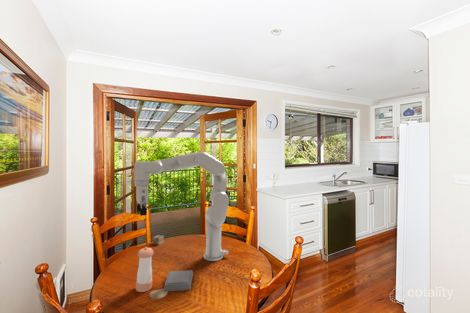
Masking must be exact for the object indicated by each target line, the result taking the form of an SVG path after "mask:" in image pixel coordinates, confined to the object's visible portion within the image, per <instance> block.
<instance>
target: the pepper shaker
mask: <svg viewBox="0 0 470 313" xmlns="http://www.w3.org/2000/svg"><path fill="white" fill-rule="evenodd" d="M154 252H155V251H154V250H153V248H151V247H147V246H145V247H144V248H141V249H140V250H138V253H137V257H138V259H139V261H138V269H137V272H136V281H135V291H136V292H138V293H145V292H148V291H150V290H151V289H152V288H153V268H152V257H153V255H154Z"/></svg>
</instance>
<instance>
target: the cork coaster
mask: <svg viewBox="0 0 470 313" xmlns="http://www.w3.org/2000/svg"><path fill="white" fill-rule="evenodd" d="M168 293H169V291H164V287H163V288H160V289H155V290H151V291H150V292H149V297H150V298H151V299H153V300H158V299H163V298H164V297H166V296H167V295H168Z"/></svg>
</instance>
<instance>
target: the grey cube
mask: <svg viewBox="0 0 470 313" xmlns="http://www.w3.org/2000/svg"><path fill="white" fill-rule="evenodd" d="M164 237H165V236H164V235H161V234H157V235H155V236H154V237H153V242H152V243H153V245H155V246H160V245H162V244H164V243H165V240H164V239H165V238H164Z"/></svg>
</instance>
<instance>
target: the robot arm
mask: <svg viewBox="0 0 470 313" xmlns="http://www.w3.org/2000/svg"><path fill="white" fill-rule="evenodd" d="M196 167H201V168H202V169H204V170H205V171H207V172H208V173H210V174H211V175H212V176H213V184H212V189H211V194H210V198H209V199H210V202H211V203H212V205H210V206H209V207H208V208H207V209H206V211H205V226H206V227H205V231H206V232H205V252H204V254H203V259H204V260H206V261H209V262H218V261H219V260H222V259H223V258H224V255H229V250H227V249H222V225H223V224H224V223H225V221H226V218H227V213H228V209H229V204H230V203H229V202H230V199H229V196H228V194H227V193H226V191H227V184H228V175H227V172H226V166H225V164H224V163H223V162H221V161H220V160H218V159H217V158H215V157H213V156H212V155H210V154H209V153H207V152H205V151H198V152H196V151H195V152H192V153H186V154H179V155H176V156H172V157H168V158H163V159H158V160H154V161H145V160H144V161H143V160H141V161H140V160H139V161H135V162H134V179H133V180H134V187H135V188H136V191H135V194H136V195H135V196H136V197H135V199H136V204H137V205H136V211H137V212H139V214H140V215H139V216H147V213H148V211H147V208H148V207H147V204H149V188H148V186H149V185H150V174H151V175H159V174H161V173H162V172H167V171H168V172H169V171H174V170H177V171H179V170H186V169H191V168H196Z"/></svg>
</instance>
